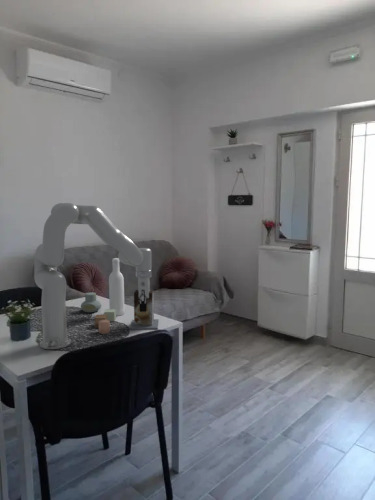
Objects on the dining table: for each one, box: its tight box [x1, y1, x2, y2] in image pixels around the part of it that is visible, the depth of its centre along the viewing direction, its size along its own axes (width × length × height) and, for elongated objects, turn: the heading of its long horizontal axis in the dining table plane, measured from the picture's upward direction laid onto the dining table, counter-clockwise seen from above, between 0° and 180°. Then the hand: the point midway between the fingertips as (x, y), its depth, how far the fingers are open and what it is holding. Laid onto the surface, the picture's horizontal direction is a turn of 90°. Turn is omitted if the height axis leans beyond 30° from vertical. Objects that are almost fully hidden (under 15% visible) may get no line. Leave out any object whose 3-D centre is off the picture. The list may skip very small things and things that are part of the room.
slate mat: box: [129, 318, 159, 331], centre depth 189 cm, size 13×13×1 cm
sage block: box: [103, 308, 117, 322], centre depth 197 cm, size 5×5×5 cm
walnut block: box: [94, 314, 107, 329], centre depth 188 cm, size 5×5×5 cm
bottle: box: [108, 257, 126, 317], centre depth 207 cm, size 8×8×30 cm
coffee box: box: [133, 289, 155, 326], centre depth 188 cm, size 9×6×16 cm
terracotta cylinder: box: [98, 320, 111, 335], centre depth 179 cm, size 5×5×5 cm
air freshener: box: [80, 291, 102, 314], centre depth 213 cm, size 11×8×10 cm
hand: (143, 308), depth 188 cm, fingers open, 9 cm apart
